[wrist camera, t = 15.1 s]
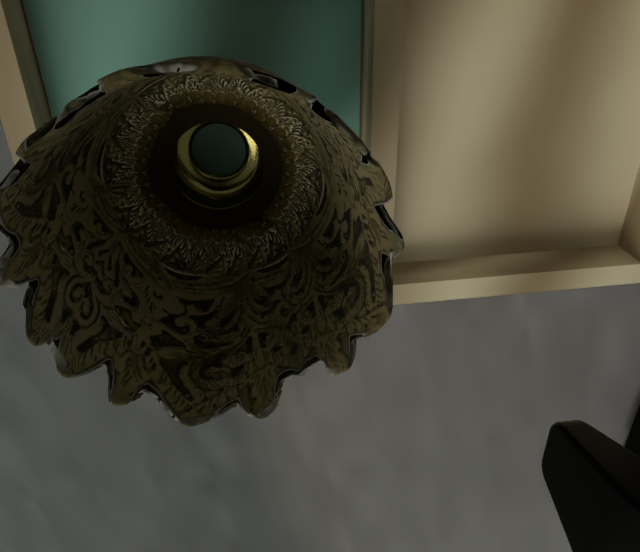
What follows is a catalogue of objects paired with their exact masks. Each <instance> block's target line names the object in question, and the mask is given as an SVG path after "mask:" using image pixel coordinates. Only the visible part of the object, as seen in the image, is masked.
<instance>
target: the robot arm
mask: <svg viewBox="0 0 640 552" xmlns="http://www.w3.org/2000/svg"><path fill="white" fill-rule="evenodd" d="M542 472H543V476H544V479H545V481H546V484H547V487H548V489H549V492H550V494H551V497H552V500H553V502H554V505H555V507H556V510H557V512H558V515H559V518H560V520H561V523H562V525H563V528H564V531H565V533H566V536H567V538H568V541H569V543H570V546H571V549H572V551H573V552H640V406H639V409H638V412H637V415H636V418H635V420H634V423H633V426H632V429H631V432H630V434H629V437H628V440H627V443H626V446H625V447H623V446H622V445H620V444H618V443H617V442H615V441H614V440H612V439H611V438H609V437H607V436H606V435H604V434H603V433H601V432H600V431H598V430H596V429H595V428H593V427H592V426H590V425H589V424H587V423H585V422H583V421H580V420H573V421H563V422H556V423H554V424H553V425H552V426H551V428H550V431H549V435H548V439H547V443H546V447H545V451H544V454H543V458H542Z"/></svg>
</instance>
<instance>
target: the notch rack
mask: <svg viewBox="0 0 640 552" xmlns="http://www.w3.org/2000/svg"><path fill="white" fill-rule="evenodd" d="M188 56H214V57H224V58H230V59H235V60H239V61H244V62H247V63H250V64H253V65H256V66H259V67H262V68H264V69H266V70H268V71H270V72H272V73H275V74H277V75H279V76H281V77H282V78H284V79H286V80H287V81H289V82H290V83H292V84H294V85H295V86H297V87H299V88H301V89H303V90H305V91H306V92H308V93H310V94H312V95H314V96H315V97H317V100H318V101H319V102H320V103H321V104H322V105H323V106H325V107H326V108H328V109H330V110H332V111H333V112H334V113H335V114H337V115H338V116H339V117H340V118H341V119H342V120H343V121H344V122H345V123H346V124H347V125H348V126H349V127H350V128H351V129H352V130H353V131H354V132H355V133H356V134H357V135H358V136H359V137H360V139H361V140H362V141H363V142H364V144H365V145H366V147H367V148H368V149H369V150H370V152H371V153H372V154H371V155H370V156H371V157H372V158H373V159H375V160H376V161H378V162H379V164H380V165H381V167H382V168H383V170H384V172H385V174H386V176H387V178H388V180H389V182H390V186H391V189H392V195H393V199H392V200H391V201H389V202H388V203H386V204H384V207H385V208H386V210H387V212H388V214H389V216H390V217H391V219H392V220H393V222H394V223H395V225H396V226H397V228H398V229H399V231H400V232H401V234H402V236H403V239H404V246H405V248H404V250H403V251H402V253H401V254H399V255H397V256H396V258H395V259H393V260H392V258H393V257H394V256H393V255H394V253H391V254H390V260H392V261H391V274H392V278H393V305H397V304H409V303H420V302H431V301H442V300H453V299H464V298H475V297H487V296H498V295H509V294H520V293H531V292H542V291H553V290H565V289H576V288H587V287H598V286H609V285H620V284H631V283H640V0H0V118H1V121H2V125H3V128H4V131H5V135H6V138H7V141H8V145H9V148H10V151H11V155H12V158H13V161H14V165H16V163H17V162H18V160H19V159H20V158H19V157H18V156H16V155H15V154H16V151H17V149H18V147H19V146H20V144H21V143H22V142H23V141H24V140H25V139H26V138H27V137H28V136H29V135H30V134H32V133H33V132H35V131H36V130H37V129H39V128H40V127H41V126H42V125H43V124H44V123H45V122H49V121H50V120H52V119H53V118H55V117H56V116H57V115H58V114H59V113H60V112H61V111H62V110H63V108H64V107H65V105H66V104H67V103H69V102H70V101H71V100H73V99H75V98H77V97H79V96H80V95H82V94H84V93H85V92H86V91H88V90H89V89H91V88H92V87H94V86H96V85H98V83H96V81H97V80H99V79H100V78H102V77H104V76H106V75H108V74H110V73H113V72H115V71H118V70H121V69H125V68H129V67H135V66H144V65H149V64H152V63H156V62H160V61H164V60H168V59H173V58H181V57H188ZM192 155H193V158H194V160H195V162H196V164H197V165H198V166H199V167H200V168H201V169H202V170H203V171H205V172H206V173H208V174H211V175H215V176H225V175H229V174H232V173H233V172H235V171H236V170H238V169H239V168H240V166H241V165H242V163H243V162H244V159H245V155H246V147H245V143H244V141H243V139H242V137H241V135H240V134H239V133H238V132H237V131H236V130H235V129H233V128H231V127H230V126H227V125H224V124H211V125H208V126H206V127H204V128H202V129H201V130H200V131H199V132H198V133H197V134H196V136H195V137H194V140H193V143H192Z"/></svg>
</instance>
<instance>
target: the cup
mask: <svg viewBox="0 0 640 552" xmlns="http://www.w3.org/2000/svg"><path fill="white" fill-rule="evenodd" d="M96 83H98V85H96V86H94V87H92V88H91V89H89V90H88V91H86V92H85V93H84V94H82V95H80V96H79V97H77V98H75V99H73V100H71V101H70V102H69V103H67V104H66V105H65V107H64V108H63V110H62V111H61V112H60V113H59V114H58V115H57V116H56V117H55V118H53V119H52V120H50V121H49V122H45V123H44V124H43V125H42V126H41V127H40V128H39V129H37V130H36V131H35V132H33V133H32V134H30V135H29V136H28V137H27V138H26V139H25V140H24V141H23V142H22V143H21V144H20V146H19V147H18V149H17V151H16V154H15V155H16V156H18V157H19V158H20V159H19V160H18V162H17V163H16V165H15V166H14V167H13V168H12V170H11V171H10V172H9V173H8V174H7V176H6V177H5V178H4V180H3V181H2V182H1V183H0V231H1V232H2V234H5V236H6V237H7V238H8V241H9V246H8V248H7V249H6V251H5V252H4V254H3V255H2V256H1V257H0V286H7V287H12V288H13V287H14V288H16V286H18V285H22V284H24V283H26V282H29V287H28V288H27V290H26V293H25V296H24V299H23V306H24V308H25V309H26V336H27V340H28V341H29V342H30V343H31V344H32V345H34V346H41V345H43V344H45V343H47V344H48V345H49V344H51V343H52V342H53V341H54V342H53V344H52V350H51V351H52V354H53V356H54V359H55V361H56V365H57V370H58V372H59V373H60V374H61V375H62V376H63V377H66V378H75V377H79V376H82V375H85V374H88V373H90V372H93V371H94V370H96V369H98V368H99V367H102V366H100V365H102V364H105V365H106V366H107V372H106V373H108V376H109V382H108V383H109V385H108V393H109V402H110V404H113V405H126V404H128V403H129V402H130V401H135V400H136V399H138V398H140V397H141V395H142V394H144V393H139V392H140V391H142V390H145V391H143V392H147V393H148V394H150V395H152V396H154V397H156V398H157V400H158V401H159V402H160V405H161V407H162V408H163V410H164V411H165V412H166V413H167V414H169V415H170V416H171V417H172V418H174V419H175V420H177V421H178V422H180V423H182V424H183V425H185V426H189V427H190V426H196V425H199V424H203V423H206V422H208V421H211V420H213V419H215V418H216V417H218V416H220V415H222V414H224V413H225V412H227V411H228V410H230V409H231V408H234V407H236V406H238V404H239V405H240V407H241V409H242V410H243V411H244V413H245V414H246V415H248V416H250V417H254V418H260V419H262V418H265V417H267V416H269V415H270V414H271V413H272V412H273V411H274V410H275V409H276V408H277V405H278V401H279V399H280V395H281V392H282V391H281V388H282V386H283V382H284V381H285V380H284V381H282V380H283V379H285V378H287V377H289V376H290V375H300V376H304V375H305V374H306V372H307V371H308V369H309V367H310V366H312V364H314V363H316V362H318V361H319V360H322V361H323V362H324V363H325V365H326V368H328V369H330V370H329V371H327V373H330V374H332V375H336V374H339V373H342V372H345V371H347V370H348V369H349V368H350V367H351V365H352V363H353V361H354V358H355V351H356V340H358V339H360V338H367V337H370V336H372V335H373V334H374V333H376V332H377V331H378V330H379V329H380V328H381V327H382V326H383V325H384V324H385V322H386V321H387V320H388V319H389V318H390V316H391V313H392V307H393V278H392V274H391V261H392V260H393V259H395V258H396V256H397V255H399V254H401V253H402V251H403V250H404V248H405V246H404V239H403V236H402V234H401V232H400V231H399V229H398V228H397V226H396V225H395V223H394V222H393V220H392V219H391V217H390V216H389V214H388V212H387V210H386V208H385V207H384V204H386V203H388V202H389V201H391V200H392V199H393V195H392V189H391V186H390V182H389V180H388V178H387V176H386V174H385V172H384V170H383V168H382V167H381V165H380V164H379V162H378V161H376V160H375V159H373V158H372V157H371V156H370V155H371V154H372V153H371V152H370V150H369V149H368V148H367V147H366V145H365V144H364V142H363V141H362V140H361V139H360V137H359V136H358V135H357V134H356V133H355V132H354V131H353V130H352V129H351V128H350V127H349V126H348V125H347V124H346V123H345V122H344V121H343V120H342V119H341V118H340V117H339V116H338V115H337V114H335V113H334V112H333V111H332V110H330V109H328V108H326V107H325V106H323V105H322V104H321V103H320V102H319V101H318V100H317V97H315V96H314V95H312V94H310V93H308V92H306V91H305V90H303V89H301V88H299V87H297V86H295V85H294V84H292V83H290V82H289V81H287V80H286V79H284V78H282V77H281V76H279V75H277V74H275V73H272V72H270V71H268V70H266V69H264V68H262V67H259V66H256V65H253V64H250V63H247V62H244V61H239V60H235V59H230V58H224V57H214V56H188V57H181V58H173V59H168V60H164V61H160V62H156V63H152V64H149V65H144V66H135V67H129V68H125V69H121V70H118V71H115V72H113V73H110V74H108V75H106V76H104V77H102V78H100V79H99V80H97V81H96ZM211 124H224V125H227V126H230V127H231V128H233V129H235V130H236V131H237V132H238V133H239V134H240V135H241V137H242V139H243V141H244V143H245V147H246V155H245V159H244V162H243V163H242V165H241V166H240V168H239V169H238V170H236V171H235V172H233V173H232V174H229V175H225V176H215V175H211V174H208V173H206V172H205V171H203V170H202V169H201V168H200V167H199V166H198V165H197V164H196V162H195V160H194V158H193V155H192V143H193V140H194V137H195V136H196V134H197V133H198V132H199V131H200V130H201V129H202V128H204V127H206V126H208V125H211ZM391 253H394V255H393V256H394V257H393V258H392V260H390V254H391ZM281 381H282V383H281ZM280 383H281V384H280ZM279 386H280V387H279ZM278 389H279V391H278ZM138 393H139V394H138ZM277 393H278V394H277ZM277 396H279V397H277Z"/></svg>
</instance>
